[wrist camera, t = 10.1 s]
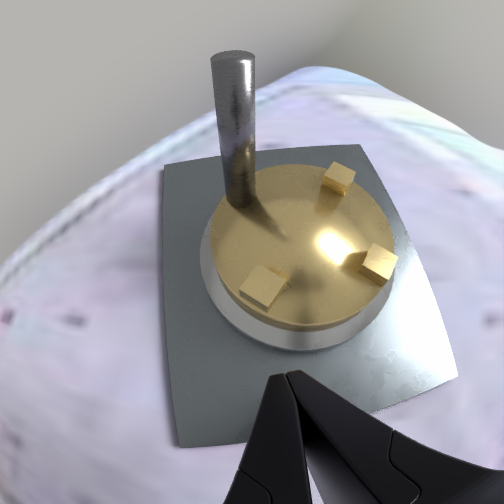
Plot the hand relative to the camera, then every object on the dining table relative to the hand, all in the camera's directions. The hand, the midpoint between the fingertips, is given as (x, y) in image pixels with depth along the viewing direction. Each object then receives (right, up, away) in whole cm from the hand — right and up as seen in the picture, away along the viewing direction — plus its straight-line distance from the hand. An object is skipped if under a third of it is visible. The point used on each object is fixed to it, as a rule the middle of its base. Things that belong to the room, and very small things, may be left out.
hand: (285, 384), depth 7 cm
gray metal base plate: (+3, +3, +15) cm, 15 cm away
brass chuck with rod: (+2, +4, +13) cm, 14 cm away
